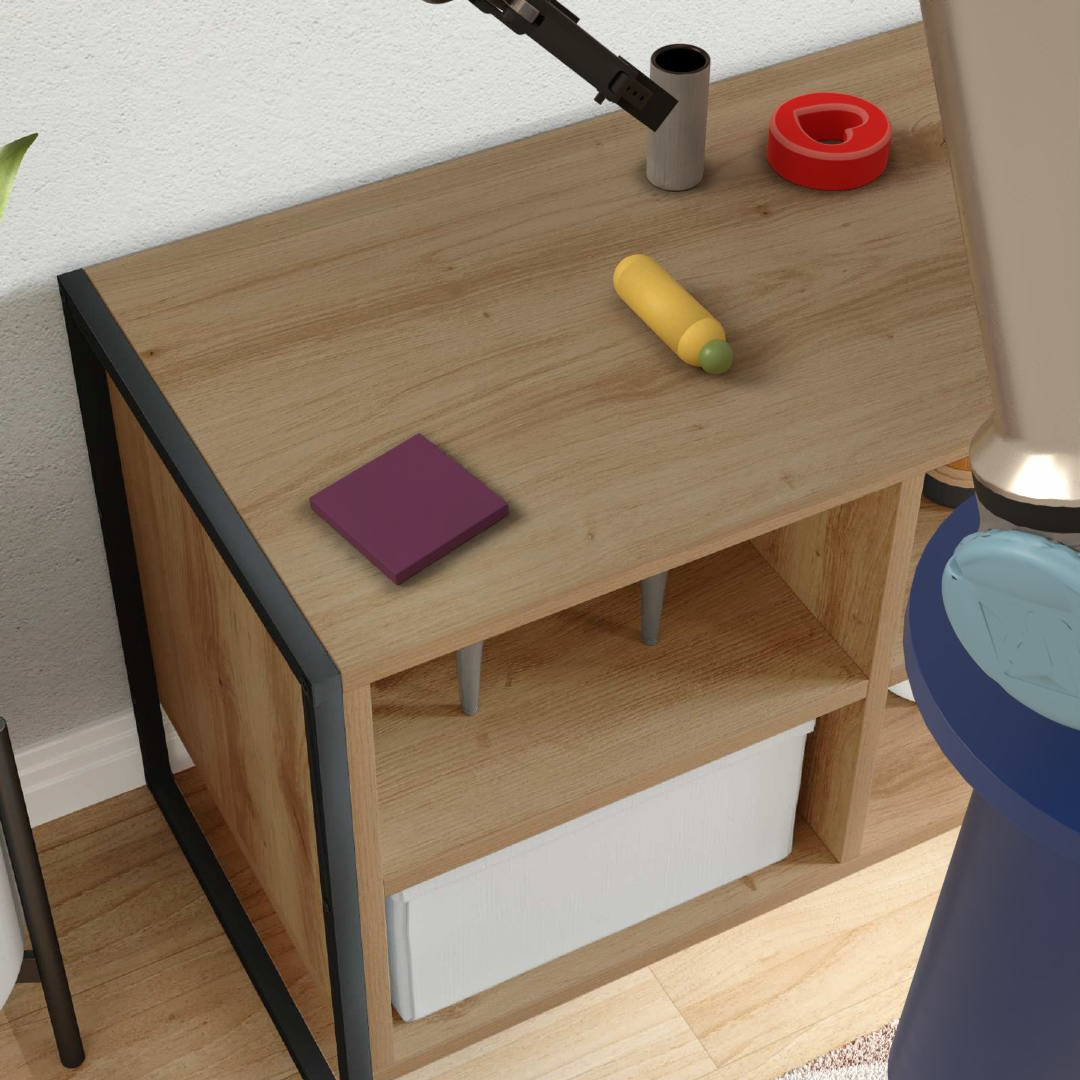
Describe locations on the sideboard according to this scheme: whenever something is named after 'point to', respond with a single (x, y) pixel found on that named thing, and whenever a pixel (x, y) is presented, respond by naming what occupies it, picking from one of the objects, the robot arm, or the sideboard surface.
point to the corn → (672, 313)
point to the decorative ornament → (829, 120)
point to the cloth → (408, 507)
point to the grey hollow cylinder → (680, 117)
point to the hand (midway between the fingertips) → (614, 72)
